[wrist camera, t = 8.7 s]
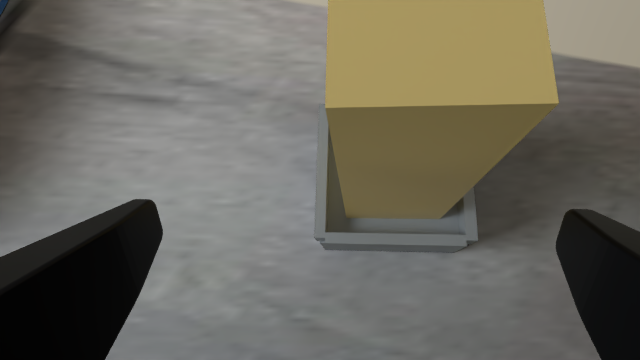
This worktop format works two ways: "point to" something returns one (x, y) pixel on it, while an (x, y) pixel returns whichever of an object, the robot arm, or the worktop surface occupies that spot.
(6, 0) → the stack of blocks
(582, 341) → the worktop surface
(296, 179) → the worktop surface
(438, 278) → the worktop surface
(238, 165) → the worktop surface
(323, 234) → the base tray
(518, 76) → the mustard brick
